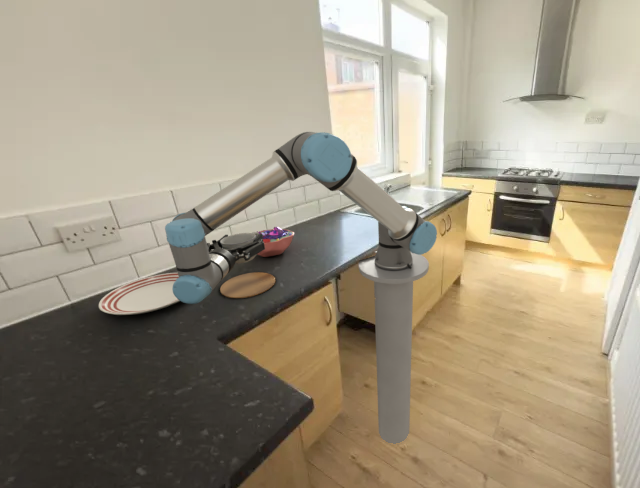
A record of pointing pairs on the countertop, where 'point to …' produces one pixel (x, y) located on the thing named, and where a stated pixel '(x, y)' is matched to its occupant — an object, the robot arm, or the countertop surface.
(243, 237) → the teacup
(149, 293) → the dinner plate
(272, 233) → the cell model
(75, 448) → the countertop surface
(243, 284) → the cork mat
